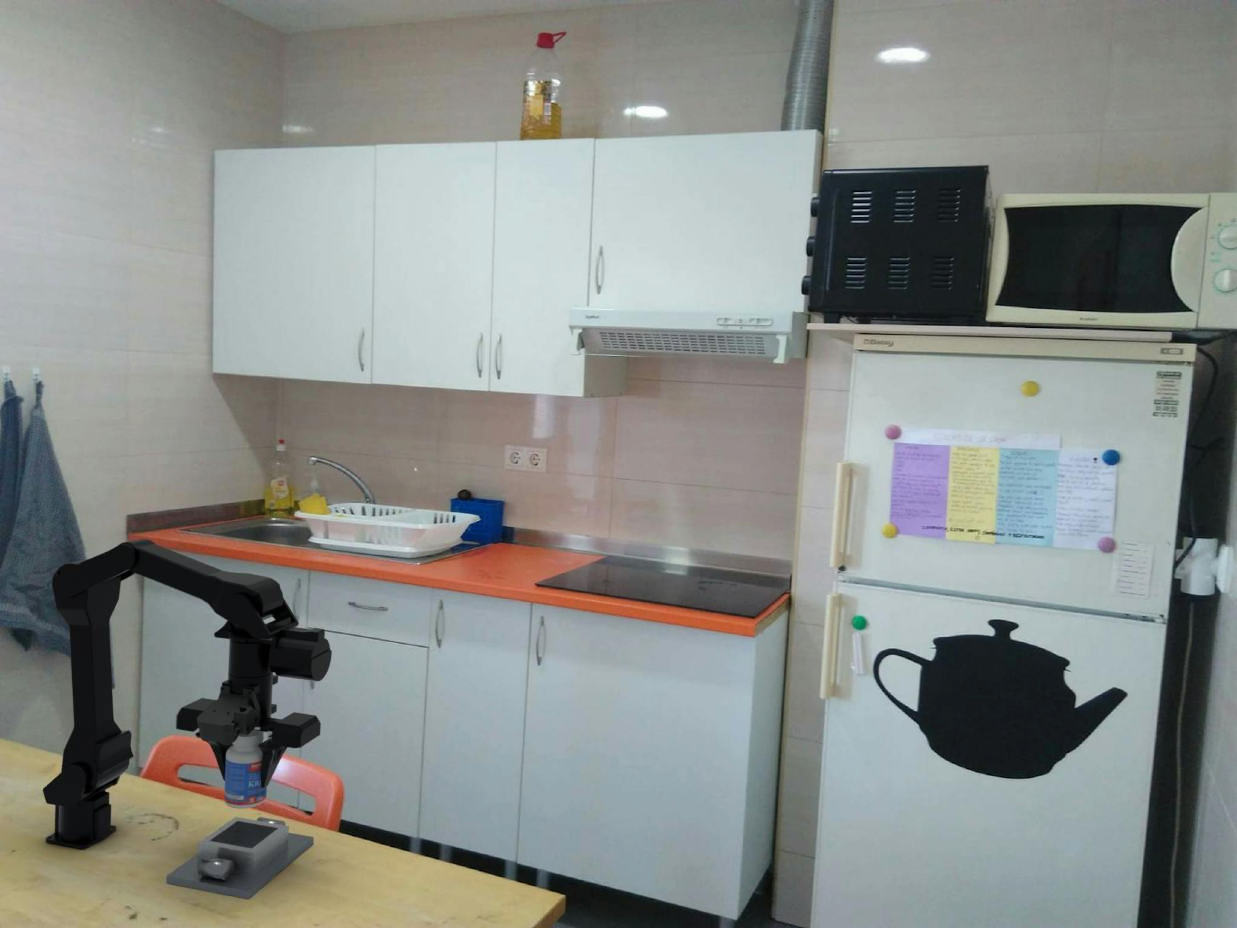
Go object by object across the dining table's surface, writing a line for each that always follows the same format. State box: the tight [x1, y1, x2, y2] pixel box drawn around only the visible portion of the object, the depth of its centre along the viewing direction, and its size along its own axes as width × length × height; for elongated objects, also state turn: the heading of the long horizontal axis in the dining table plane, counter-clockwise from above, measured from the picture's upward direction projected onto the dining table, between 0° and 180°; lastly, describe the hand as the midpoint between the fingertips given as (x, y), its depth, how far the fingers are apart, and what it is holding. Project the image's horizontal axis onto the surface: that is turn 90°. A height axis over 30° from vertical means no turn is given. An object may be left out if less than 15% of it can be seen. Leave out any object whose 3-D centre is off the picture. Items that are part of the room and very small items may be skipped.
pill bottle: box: [223, 730, 268, 810], centre depth 132 cm, size 6×5×10 cm
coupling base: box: [165, 816, 315, 900], centre depth 133 cm, size 12×16×4 cm
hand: (245, 783), depth 132 cm, fingers closed on pill bottle, 5 cm apart
